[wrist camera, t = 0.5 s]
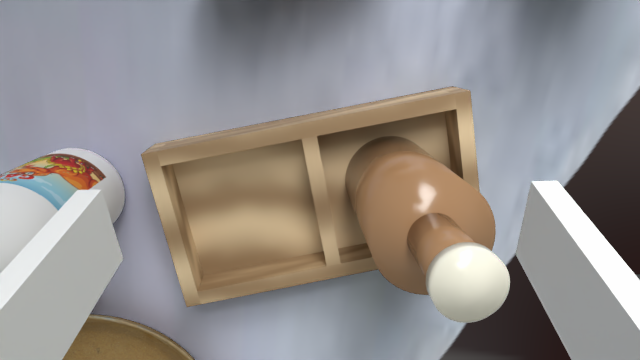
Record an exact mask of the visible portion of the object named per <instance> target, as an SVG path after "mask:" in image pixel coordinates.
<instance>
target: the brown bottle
mask: <svg viewBox="0 0 640 360" xmlns="http://www.w3.org/2000/svg"><path fill="white" fill-rule="evenodd" d="M345 186H346V191H347V194H348V197H349V199H350V202H351V204H352V207H353V209H354V212H355V214H356V217H357V219H358V222H359V224H360V227H361V229H362V232H363V234H364V237H365V239H366V242H367V244H368V247H369V249H370V252H371V254H372V257H373V259H374V262H375V264H376V266H377V268H378V269H379V271H380V272H381V274H382V275H383V276H384V277H385V278H386V279H387V280H388V281H389V282H390V283H392V284H393V285H395V286H396V287H398V288H400V289H402V290H404V291H407V292H410V293H415V294H422V295H429V296H430V298H431V299H432V301H433V303H434V305H435V306H436V308H437V309H438V311H439V312H440V313H441V314H442V315H444V316H445V317H447V318H449V319H450V320H453V321H457V322H464V323H466V322H475V321H479V320H482V319H484V318H486V317H488V316H490V315H491V314H493V313H494V312H495V311H496V310H498V308H499V307H500V306H501V305H502V304H503V302H504V301H505V299H506V297H507V295H508V291H509V287H510V278H509V273H508V270H507V268H506V266H505V265H504V263H503V262H502V261H501V260H500V259H499V258H498V257H497V256H496V255H495V254H494V253H493V252H492V248H493V245H494V241H495V221H494V216H493V213H492V210H491V208H490V206H489V204H488V202H487V201H486V200H485V198H484V197H483V196H482V195H481V194H480V193H479V192H478V191H477V190H476V189H475V188H473V187H472V186H471V185H469V184H468V183H467V182H466V181H464V180H463V179H462V178H460V177H459V176H458V175H456V174H455V173H454V172H452V171H451V170H450V169H448V168H447V167H446V166H444V165H443V164H442V163H440V162H439V161H438V160H437V159H435V158H434V157H433V156H431V155H430V154H429V153H427V152H426V151H425V150H423V149H422V148H421V147H419V146H418V145H417V144H415V143H414V142H412V141H411V140H408V139H406V138H403V137H398V136H384V137H379V138H376V139H374V140H371V141H369V142H368V143H366V144H364V145H363V146H362V147H361V148H360V149H358V150H357V152H356V153H355V154H354V155H353V157H352V158H351V160H350V162H349V164H348V167H347V170H346V175H345Z"/></svg>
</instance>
